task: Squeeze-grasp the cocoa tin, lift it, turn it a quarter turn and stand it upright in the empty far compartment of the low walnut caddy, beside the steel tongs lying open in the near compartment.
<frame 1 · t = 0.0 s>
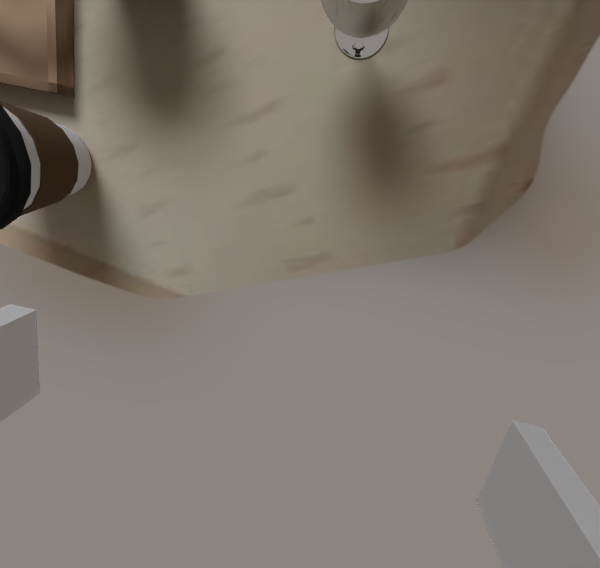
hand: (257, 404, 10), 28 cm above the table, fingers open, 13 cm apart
wineglass: (361, 29, 31), on the table
coffee cup: (65, 160, 38), on the table
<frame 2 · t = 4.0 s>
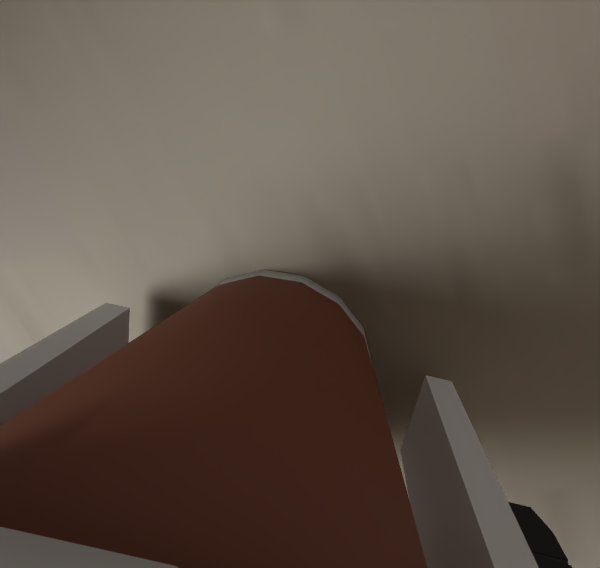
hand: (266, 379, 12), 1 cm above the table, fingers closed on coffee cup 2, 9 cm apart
coffee cup 2: (274, 360, 13), on the table, touching gripper
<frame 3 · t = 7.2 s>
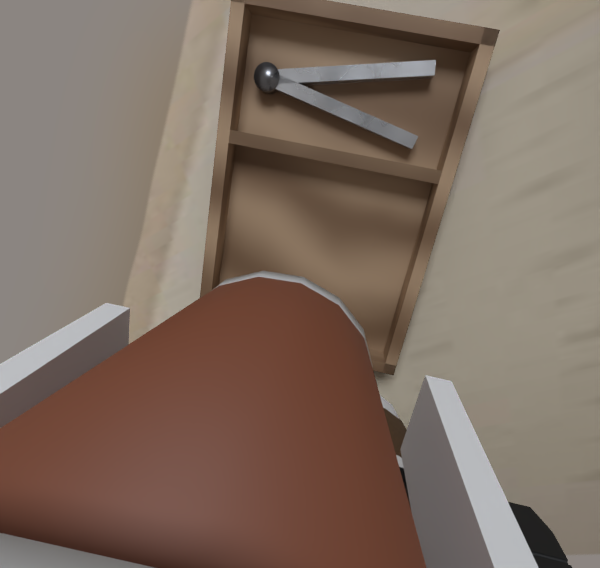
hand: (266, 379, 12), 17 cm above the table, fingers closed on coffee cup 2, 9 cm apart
coffee cup 2: (274, 361, 13), point 16 cm above the table, touching gripper
steel tongs: (346, 94, 24), resting on walnut caddy
walnut caddy: (325, 201, 27), on the table
coffee cup: (357, 417, 32), on the table
when the fingers open (4 cm above the table, at t = 10.4 s): coffee cup 2 drops 2 cm, resting on walnut caddy.
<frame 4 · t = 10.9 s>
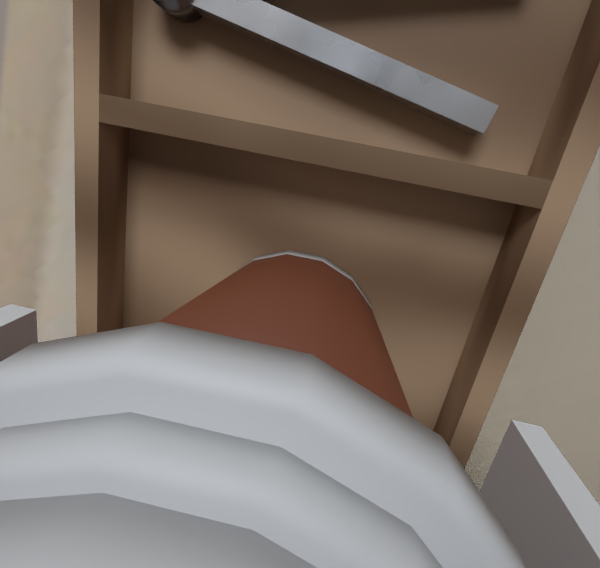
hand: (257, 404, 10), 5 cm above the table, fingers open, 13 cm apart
coffee cup 2: (293, 328, 15), resting on walnut caddy
steel tongs: (344, 20, 11), resting on walnut caddy
walnut caddy: (304, 235, 14), on the table
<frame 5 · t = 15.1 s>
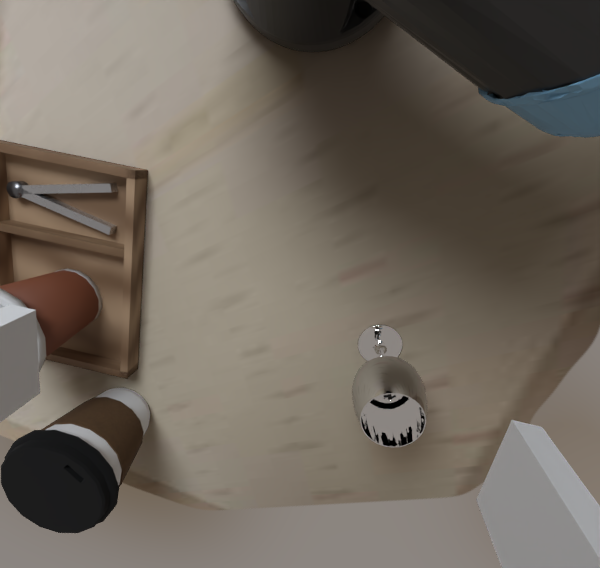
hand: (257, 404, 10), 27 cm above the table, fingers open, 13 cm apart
wineglass: (379, 343, 39), on the table
coffee cup 2: (75, 296, 41), resting on walnut caddy
steel tongs: (70, 199, 37), resting on walnut caddy
walnut caddy: (74, 263, 40), on the table
coffee cup: (127, 408, 45), on the table
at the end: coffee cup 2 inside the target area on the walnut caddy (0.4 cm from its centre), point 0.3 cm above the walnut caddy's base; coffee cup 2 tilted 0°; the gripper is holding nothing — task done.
